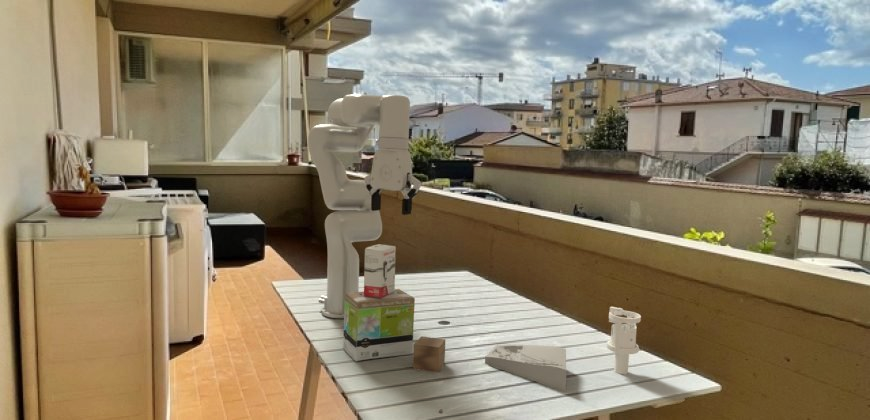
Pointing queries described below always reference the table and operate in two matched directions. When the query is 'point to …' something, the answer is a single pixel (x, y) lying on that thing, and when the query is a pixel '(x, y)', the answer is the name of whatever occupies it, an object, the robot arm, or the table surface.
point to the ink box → (379, 270)
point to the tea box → (378, 325)
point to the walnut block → (429, 354)
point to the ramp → (531, 362)
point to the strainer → (623, 337)
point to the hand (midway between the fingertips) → (390, 212)
